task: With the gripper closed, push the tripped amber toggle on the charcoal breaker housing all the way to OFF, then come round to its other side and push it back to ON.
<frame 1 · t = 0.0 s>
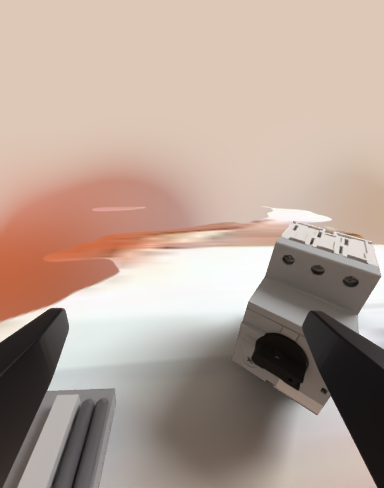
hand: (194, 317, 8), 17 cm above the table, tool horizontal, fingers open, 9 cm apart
circuit breaker: (274, 366, 25), on the table
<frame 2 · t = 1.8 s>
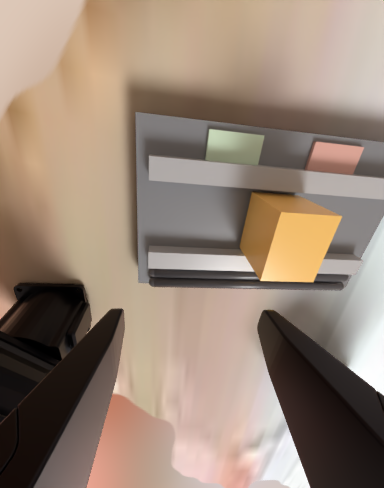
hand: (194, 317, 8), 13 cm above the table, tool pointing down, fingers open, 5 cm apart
toggle: (281, 234, 16), point 5 cm above the table, slide at 4.0 cm
breaker housing: (257, 213, 20), on the table
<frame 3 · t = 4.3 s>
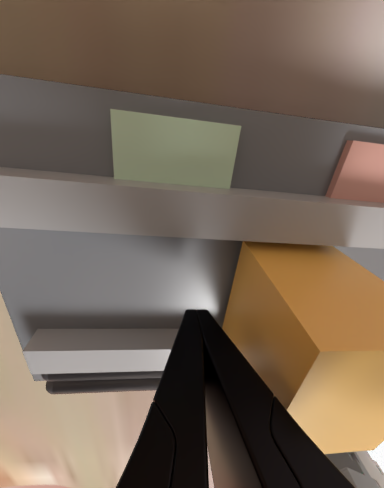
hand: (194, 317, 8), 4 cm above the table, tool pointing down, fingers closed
toggle: (301, 334, 8), point 5 cm above the table, slide at 5.0 cm, touching gripper
circuit breaker: (311, 441, 25), on the table
breaker housing: (238, 263, 12), on the table
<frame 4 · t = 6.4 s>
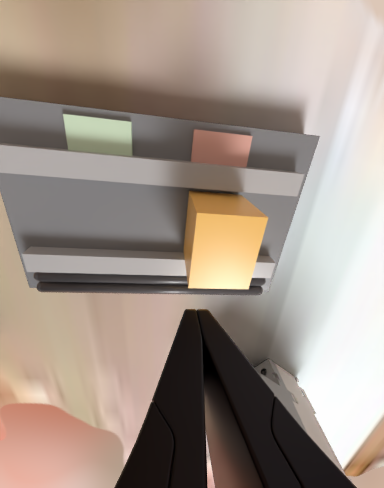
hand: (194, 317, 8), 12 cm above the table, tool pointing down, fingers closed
toggle: (217, 237, 15), point 5 cm above the table, slide at 8.0 cm
circuit breaker: (251, 372, 31), on the table
breaker housing: (160, 211, 19), on the table
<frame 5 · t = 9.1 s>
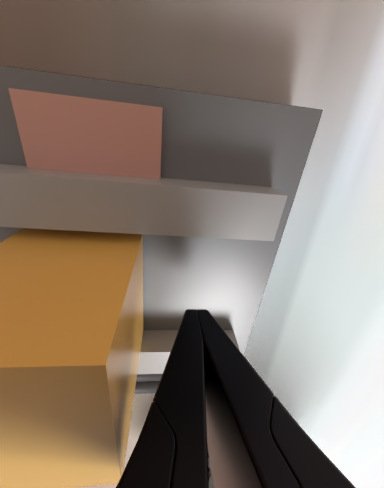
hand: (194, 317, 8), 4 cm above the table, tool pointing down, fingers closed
toggle: (66, 338, 6), point 5 cm above the table, slide at 7.4 cm, touching gripper
breaker housing: (34, 254, 10), on the table
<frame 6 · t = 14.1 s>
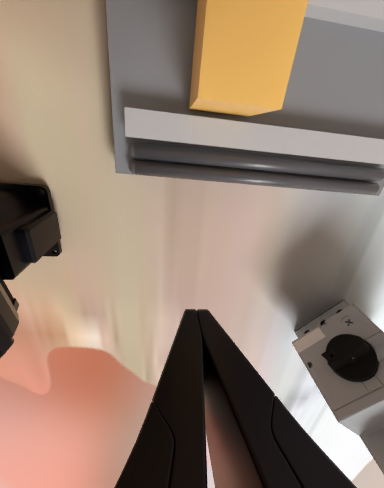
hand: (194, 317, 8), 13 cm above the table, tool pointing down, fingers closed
toggle: (236, 51, 11), point 5 cm above the table, slide at 0.0 cm
circuit breaker: (320, 318, 28), on the table
breaker housing: (271, 82, 16), on the table
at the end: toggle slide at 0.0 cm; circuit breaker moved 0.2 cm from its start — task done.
